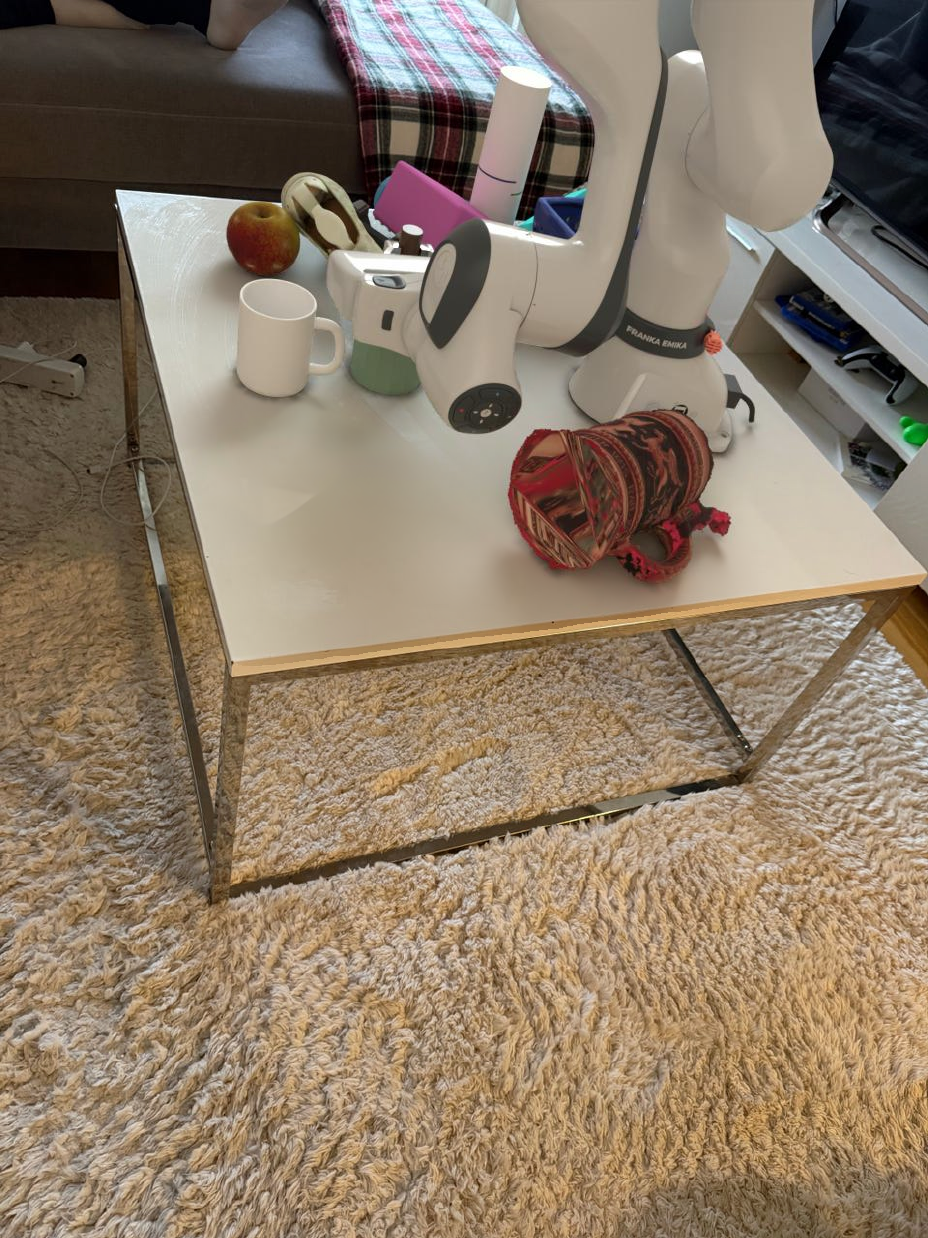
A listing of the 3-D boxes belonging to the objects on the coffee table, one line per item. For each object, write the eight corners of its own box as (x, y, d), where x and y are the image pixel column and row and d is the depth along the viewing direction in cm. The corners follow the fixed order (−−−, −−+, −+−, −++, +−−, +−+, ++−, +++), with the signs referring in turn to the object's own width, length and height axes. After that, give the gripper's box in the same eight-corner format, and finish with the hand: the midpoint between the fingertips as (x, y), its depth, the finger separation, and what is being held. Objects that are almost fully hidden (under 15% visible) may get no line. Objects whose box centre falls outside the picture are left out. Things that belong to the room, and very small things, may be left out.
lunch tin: (423, 362, 113) (436, 301, 107) (417, 401, 108) (431, 340, 101) (355, 346, 112) (364, 284, 106) (345, 385, 106) (355, 322, 100)
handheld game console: (593, 185, 129) (597, 194, 130) (571, 192, 144) (575, 200, 144) (532, 222, 131) (537, 231, 131) (517, 225, 145) (521, 233, 146)
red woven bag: (510, 412, 86) (673, 490, 79) (652, 333, 103) (797, 391, 96) (490, 548, 97) (631, 628, 90) (622, 456, 115) (749, 516, 107)
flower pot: (627, 317, 134) (657, 241, 125) (555, 321, 128) (581, 242, 119) (582, 270, 141) (608, 195, 132) (512, 272, 135) (534, 194, 126)
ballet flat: (317, 165, 124) (285, 125, 117) (412, 257, 113) (382, 220, 106) (276, 209, 125) (242, 173, 118) (366, 305, 114) (334, 271, 108)
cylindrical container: (453, 240, 138) (493, 62, 120) (495, 243, 140) (541, 69, 122) (466, 264, 134) (510, 83, 115) (510, 267, 136) (559, 91, 118)
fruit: (212, 267, 116) (214, 207, 111) (243, 241, 123) (246, 183, 117) (280, 293, 116) (285, 234, 110) (308, 265, 122) (314, 208, 116)
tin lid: (442, 287, 106) (457, 221, 100) (437, 328, 100) (453, 260, 94) (363, 267, 105) (374, 199, 99) (352, 308, 98) (363, 238, 93)
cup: (242, 350, 106) (246, 271, 99) (342, 371, 108) (353, 295, 101) (229, 390, 101) (233, 309, 93) (335, 411, 103) (346, 334, 95)
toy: (445, 286, 114) (521, 325, 124) (482, 220, 110) (557, 266, 121) (352, 204, 129) (426, 245, 140) (381, 144, 126) (455, 191, 137)
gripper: (539, 295, 92) (498, 228, 100) (347, 282, 85) (320, 211, 93) (522, 347, 97) (484, 280, 105) (339, 339, 89) (313, 268, 98)
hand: (406, 247), depth 99 cm, fingers closed on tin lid, 2 cm apart
